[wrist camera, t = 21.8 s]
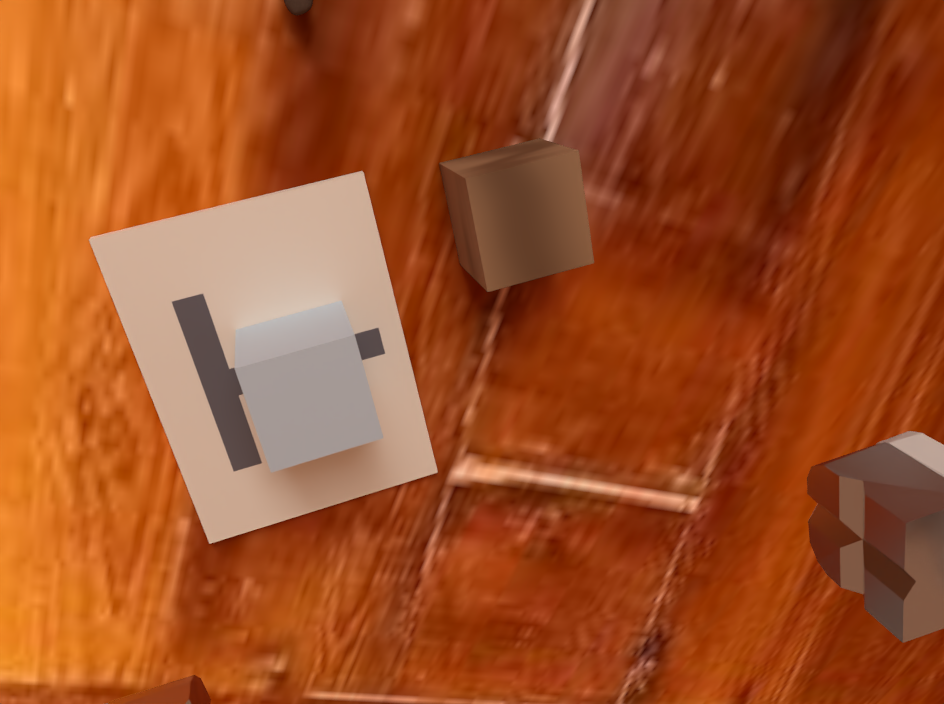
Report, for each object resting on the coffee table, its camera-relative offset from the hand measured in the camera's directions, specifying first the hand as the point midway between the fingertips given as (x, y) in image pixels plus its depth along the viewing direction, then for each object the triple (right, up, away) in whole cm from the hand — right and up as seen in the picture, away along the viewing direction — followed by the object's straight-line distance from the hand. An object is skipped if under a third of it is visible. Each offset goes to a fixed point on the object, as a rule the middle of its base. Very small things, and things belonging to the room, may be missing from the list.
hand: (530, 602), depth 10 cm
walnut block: (+1, +10, +29) cm, 30 cm away
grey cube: (-9, +3, +28) cm, 30 cm away
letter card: (-10, +3, +28) cm, 30 cm away
